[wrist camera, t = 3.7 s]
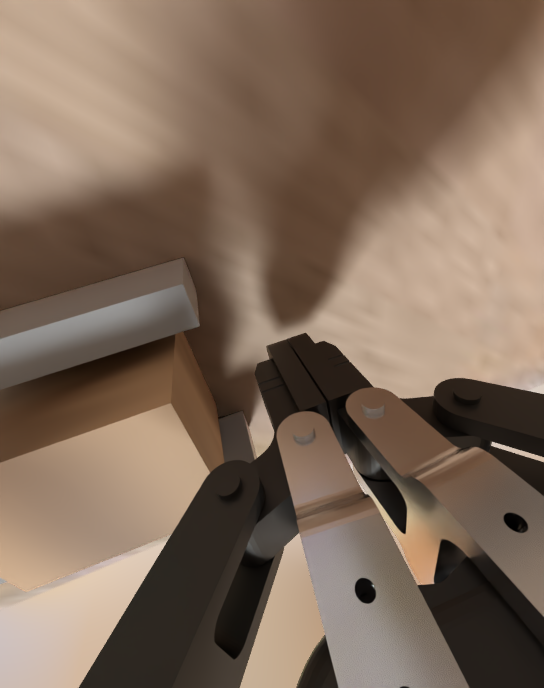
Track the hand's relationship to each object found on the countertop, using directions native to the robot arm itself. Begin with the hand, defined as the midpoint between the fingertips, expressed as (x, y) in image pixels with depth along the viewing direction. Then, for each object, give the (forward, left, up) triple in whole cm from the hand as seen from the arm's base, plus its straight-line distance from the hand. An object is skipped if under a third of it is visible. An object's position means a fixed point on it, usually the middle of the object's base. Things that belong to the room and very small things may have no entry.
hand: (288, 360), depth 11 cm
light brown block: (+6, 0, -2) cm, 7 cm away
